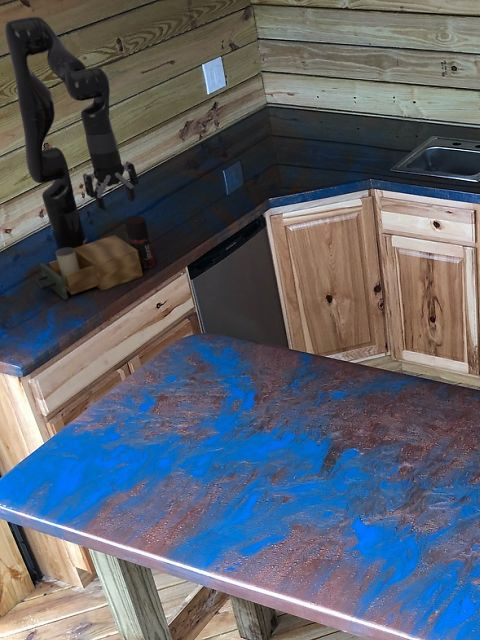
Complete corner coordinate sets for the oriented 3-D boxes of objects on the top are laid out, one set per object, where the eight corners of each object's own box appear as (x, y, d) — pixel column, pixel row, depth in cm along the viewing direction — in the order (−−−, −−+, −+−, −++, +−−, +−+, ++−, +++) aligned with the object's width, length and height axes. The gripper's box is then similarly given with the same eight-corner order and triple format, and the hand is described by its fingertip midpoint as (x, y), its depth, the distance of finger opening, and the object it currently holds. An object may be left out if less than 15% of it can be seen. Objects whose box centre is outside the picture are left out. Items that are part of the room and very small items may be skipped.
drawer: (50, 304, 267) (43, 283, 263) (31, 288, 275) (24, 268, 271) (104, 285, 276) (98, 265, 272) (84, 270, 284) (78, 250, 280)
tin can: (61, 281, 276) (51, 251, 270) (78, 275, 279) (69, 245, 273) (68, 287, 273) (59, 257, 267) (86, 281, 276) (77, 251, 270)
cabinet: (101, 290, 275) (94, 264, 270) (80, 274, 284) (72, 248, 279) (143, 275, 283) (137, 249, 277) (121, 260, 291) (114, 234, 286)
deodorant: (149, 269, 286) (139, 225, 277) (132, 268, 287) (121, 223, 278) (158, 261, 290) (148, 217, 281) (140, 260, 291) (130, 215, 282)
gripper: (121, 137, 249) (134, 194, 259) (71, 150, 242) (86, 208, 252) (134, 144, 245) (146, 201, 255) (84, 158, 238) (99, 216, 247)
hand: (117, 205), depth 253 cm, fingers open, 8 cm apart
